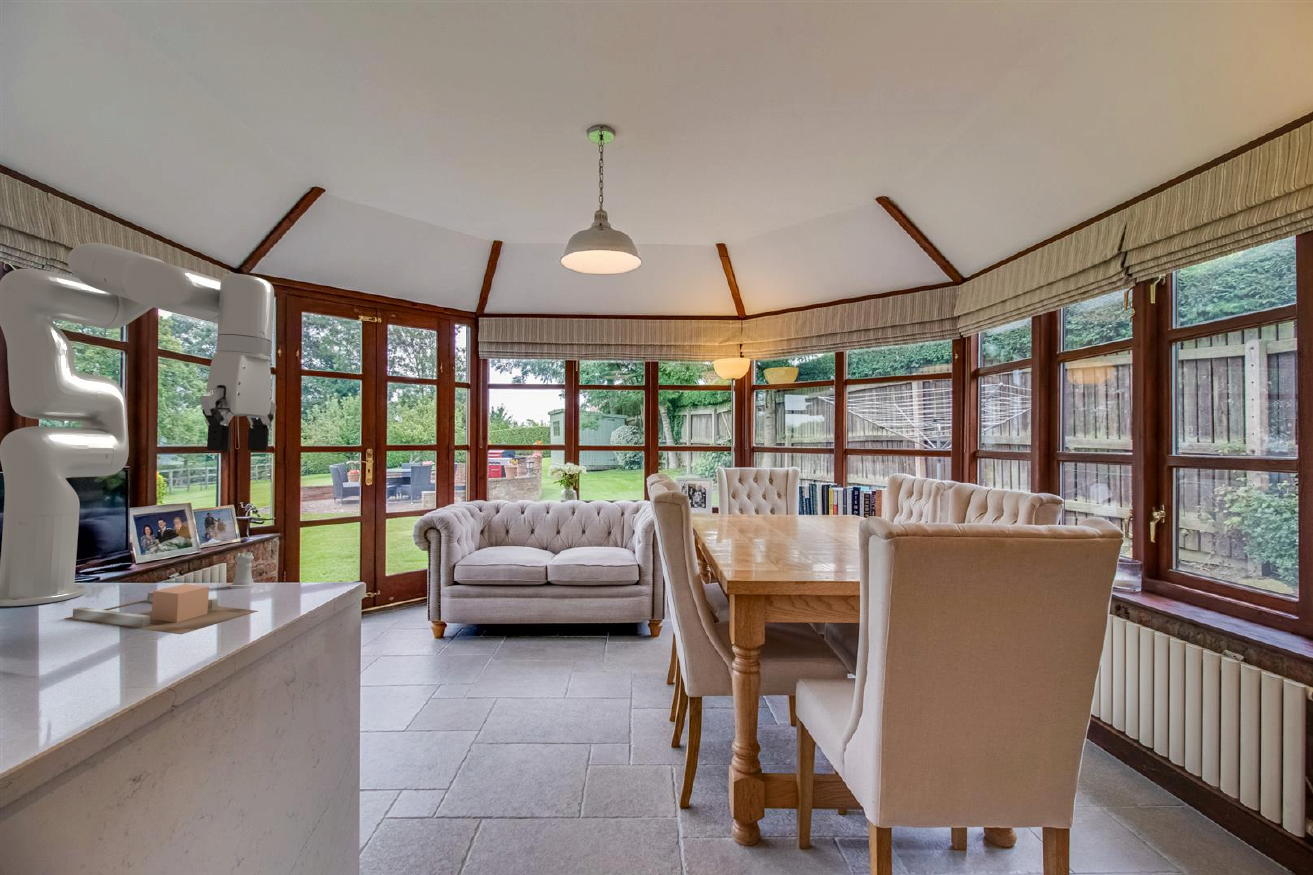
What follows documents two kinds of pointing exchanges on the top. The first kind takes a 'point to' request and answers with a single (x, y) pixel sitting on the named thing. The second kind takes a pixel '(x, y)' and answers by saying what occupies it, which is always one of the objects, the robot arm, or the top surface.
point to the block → (180, 602)
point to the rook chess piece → (243, 571)
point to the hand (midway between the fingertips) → (239, 450)
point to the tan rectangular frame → (146, 622)
